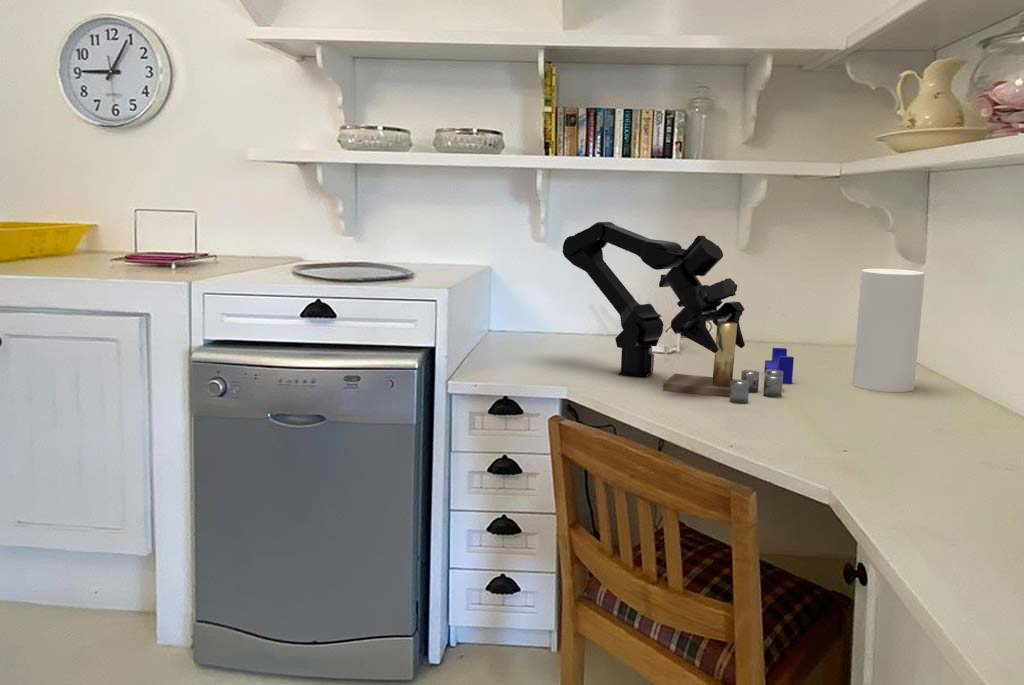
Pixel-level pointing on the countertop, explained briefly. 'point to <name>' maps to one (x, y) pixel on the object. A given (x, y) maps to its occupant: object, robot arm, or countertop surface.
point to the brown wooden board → (695, 385)
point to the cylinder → (888, 329)
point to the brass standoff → (724, 353)
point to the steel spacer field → (756, 385)
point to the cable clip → (781, 364)
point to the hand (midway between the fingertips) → (730, 349)
